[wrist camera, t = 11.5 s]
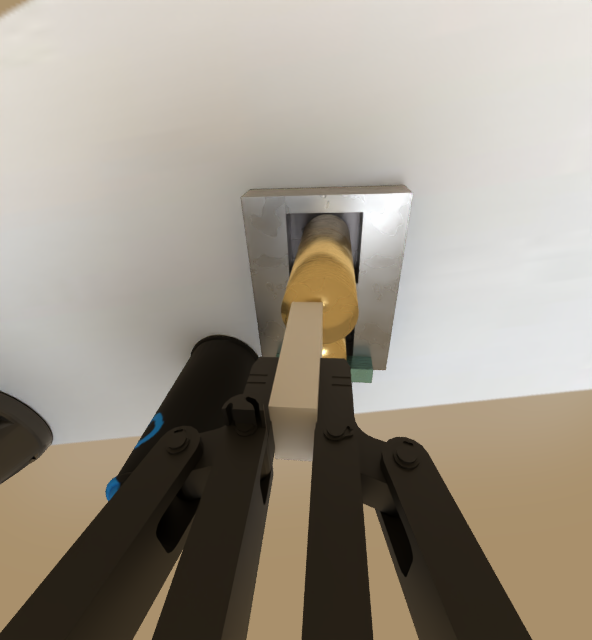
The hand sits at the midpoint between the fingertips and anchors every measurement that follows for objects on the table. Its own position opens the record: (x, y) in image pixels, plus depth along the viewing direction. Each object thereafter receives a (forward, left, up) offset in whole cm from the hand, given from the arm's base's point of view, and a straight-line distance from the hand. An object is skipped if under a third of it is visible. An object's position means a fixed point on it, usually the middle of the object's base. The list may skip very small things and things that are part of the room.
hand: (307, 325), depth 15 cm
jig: (0, -4, -13) cm, 14 cm away
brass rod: (+1, 0, -13) cm, 13 cm away
